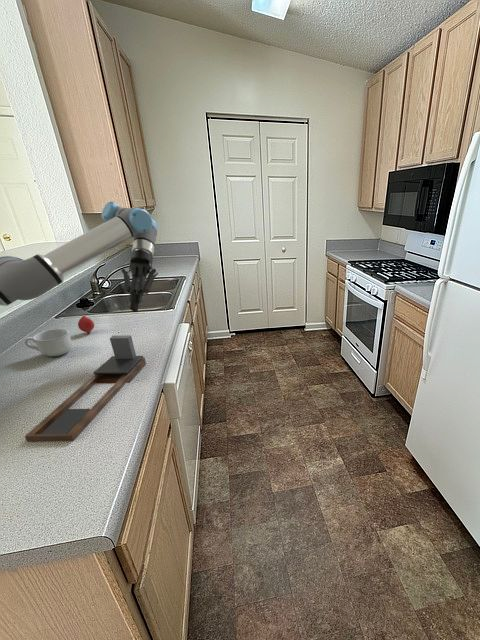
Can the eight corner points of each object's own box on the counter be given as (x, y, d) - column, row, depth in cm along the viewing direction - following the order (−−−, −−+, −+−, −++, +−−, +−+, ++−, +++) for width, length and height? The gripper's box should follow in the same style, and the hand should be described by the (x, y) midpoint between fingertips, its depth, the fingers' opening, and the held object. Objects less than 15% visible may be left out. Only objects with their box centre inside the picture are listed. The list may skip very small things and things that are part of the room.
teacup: (79, 346, 130) (73, 327, 127) (67, 358, 121) (59, 338, 117) (40, 349, 128) (32, 330, 125) (24, 361, 119) (16, 341, 115)
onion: (80, 336, 140) (74, 318, 137) (81, 331, 145) (76, 314, 141) (95, 334, 142) (90, 316, 139) (97, 329, 147) (91, 312, 143)
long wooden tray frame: (114, 364, 116) (112, 357, 115) (146, 363, 116) (144, 357, 115) (28, 445, 79) (24, 436, 77) (75, 444, 79) (71, 435, 77)
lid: (112, 357, 114) (106, 335, 111) (143, 357, 114) (137, 335, 111) (93, 374, 104) (85, 350, 100) (127, 373, 104) (121, 350, 100)
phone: (68, 411, 89) (67, 408, 88) (91, 411, 89) (90, 408, 88) (40, 438, 79) (38, 435, 79) (65, 438, 79) (64, 435, 79)
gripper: (163, 260, 130) (156, 314, 123) (130, 261, 130) (121, 315, 123) (155, 248, 123) (147, 305, 116) (120, 248, 123) (110, 305, 116)
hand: (133, 310), depth 119 cm, fingers closed
